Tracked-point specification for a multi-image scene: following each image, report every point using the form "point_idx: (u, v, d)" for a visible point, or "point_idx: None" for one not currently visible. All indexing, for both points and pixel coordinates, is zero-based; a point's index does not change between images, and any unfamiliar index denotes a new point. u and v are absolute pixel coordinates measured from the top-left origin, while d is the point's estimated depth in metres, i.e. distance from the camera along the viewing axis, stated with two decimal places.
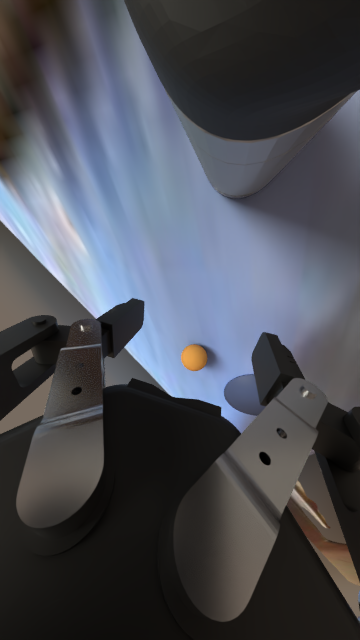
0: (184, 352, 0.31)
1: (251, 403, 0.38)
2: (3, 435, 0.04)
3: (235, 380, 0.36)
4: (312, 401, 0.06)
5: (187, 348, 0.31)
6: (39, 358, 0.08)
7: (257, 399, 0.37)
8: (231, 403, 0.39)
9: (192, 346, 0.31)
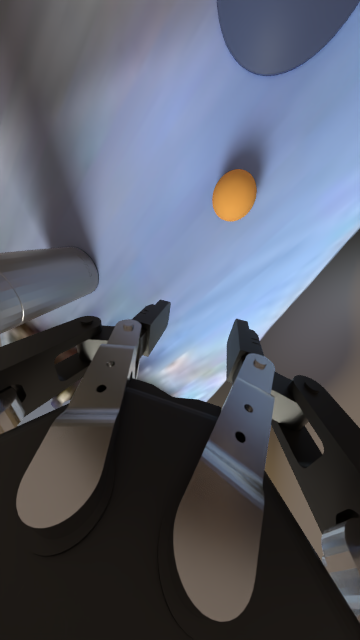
0: (226, 219, 0.20)
1: None
2: (3, 435, 0.04)
3: (266, 66, 0.17)
4: (260, 370, 0.07)
5: (221, 218, 0.21)
6: (81, 355, 0.08)
7: None
8: None
9: (216, 213, 0.21)
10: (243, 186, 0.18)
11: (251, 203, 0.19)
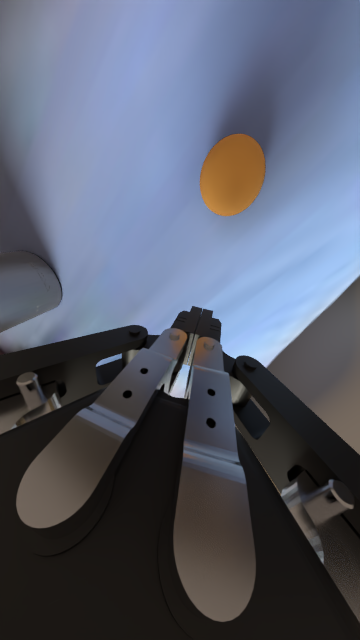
0: (221, 212, 0.14)
1: None
2: (3, 435, 0.04)
3: None
4: (206, 350, 0.07)
5: (213, 211, 0.15)
6: (123, 363, 0.08)
7: None
8: None
9: (206, 204, 0.15)
10: (246, 159, 0.11)
11: (257, 187, 0.13)
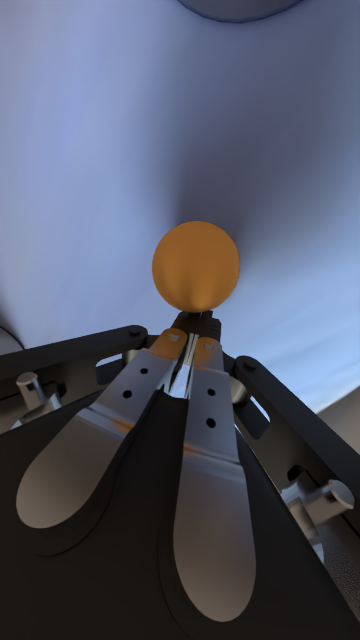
0: (184, 310, 0.10)
1: None
2: (3, 435, 0.04)
3: None
4: (206, 350, 0.07)
5: None
6: (123, 363, 0.08)
7: None
8: None
9: None
10: (205, 265, 0.07)
11: (230, 289, 0.09)
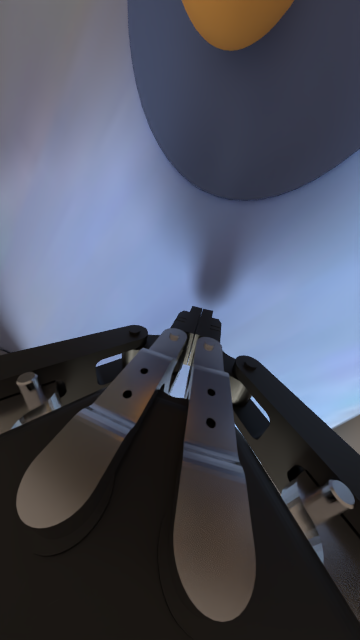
0: None
1: None
2: (3, 435, 0.04)
3: (230, 188, 0.09)
4: (206, 350, 0.07)
5: (206, 11, 0.05)
6: (123, 363, 0.08)
7: None
8: None
9: (186, 3, 0.06)
10: None
11: None
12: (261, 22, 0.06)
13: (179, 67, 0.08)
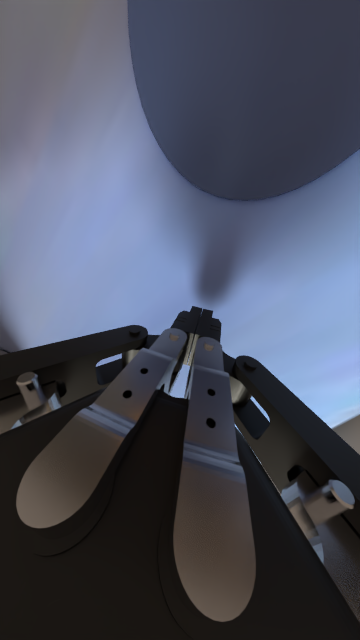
0: None
1: None
2: (3, 435, 0.04)
3: (230, 188, 0.09)
4: (206, 350, 0.07)
5: None
6: (123, 363, 0.08)
7: None
8: None
9: None
10: None
11: None
12: None
13: (179, 67, 0.08)
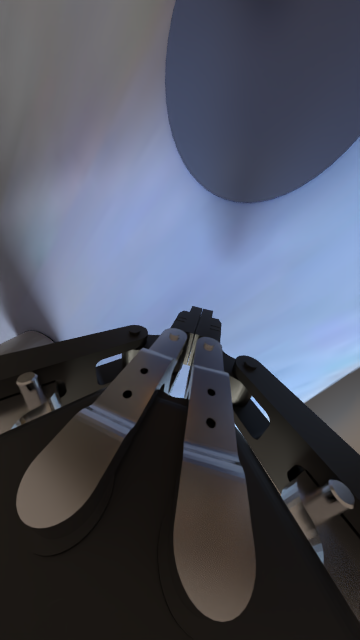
0: None
1: (327, 19, 0.08)
2: (3, 435, 0.04)
3: (236, 193, 0.13)
4: (207, 350, 0.07)
5: None
6: (123, 363, 0.08)
7: (282, 35, 0.09)
8: None
9: None
10: None
11: None
12: None
13: (200, 108, 0.11)
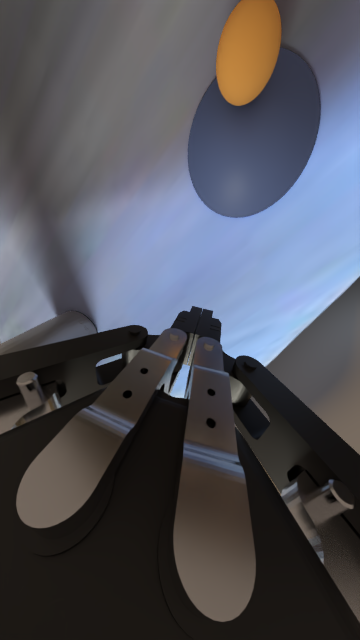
0: None
1: (272, 130, 0.17)
2: (3, 435, 0.04)
3: (228, 212, 0.21)
4: (207, 350, 0.07)
5: (238, 13, 0.12)
6: (123, 363, 0.08)
7: (251, 134, 0.18)
8: (298, 165, 0.18)
9: (226, 32, 0.13)
10: None
11: None
12: (263, 18, 0.12)
13: (207, 164, 0.20)
